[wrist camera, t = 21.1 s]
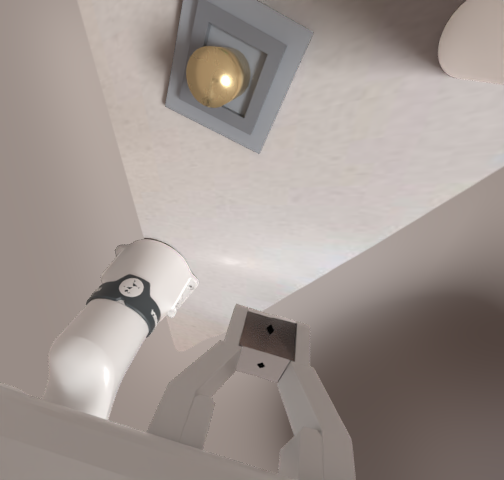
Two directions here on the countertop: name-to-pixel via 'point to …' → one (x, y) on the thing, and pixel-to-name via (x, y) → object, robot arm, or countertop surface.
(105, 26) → the countertop surface
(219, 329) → the countertop surface
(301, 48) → the grey square tray
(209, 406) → the robot arm
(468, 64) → the cylindrical container
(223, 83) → the cylinder
